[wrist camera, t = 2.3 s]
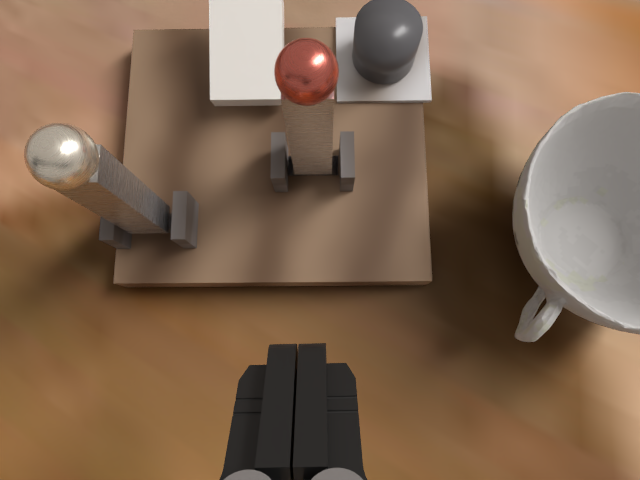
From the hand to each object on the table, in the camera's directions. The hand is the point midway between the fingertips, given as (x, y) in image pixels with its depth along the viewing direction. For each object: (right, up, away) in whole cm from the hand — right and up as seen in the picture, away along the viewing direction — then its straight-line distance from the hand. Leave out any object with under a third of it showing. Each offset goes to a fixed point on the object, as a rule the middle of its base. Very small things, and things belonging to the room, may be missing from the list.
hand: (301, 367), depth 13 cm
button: (+5, +15, +19) cm, 25 cm away
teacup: (+16, +3, +19) cm, 25 cm away
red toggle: (0, +8, +17) cm, 19 cm away
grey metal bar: (-9, +4, +17) cm, 20 cm away
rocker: (-4, +15, +18) cm, 24 cm away
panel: (-2, +9, +20) cm, 22 cm away
